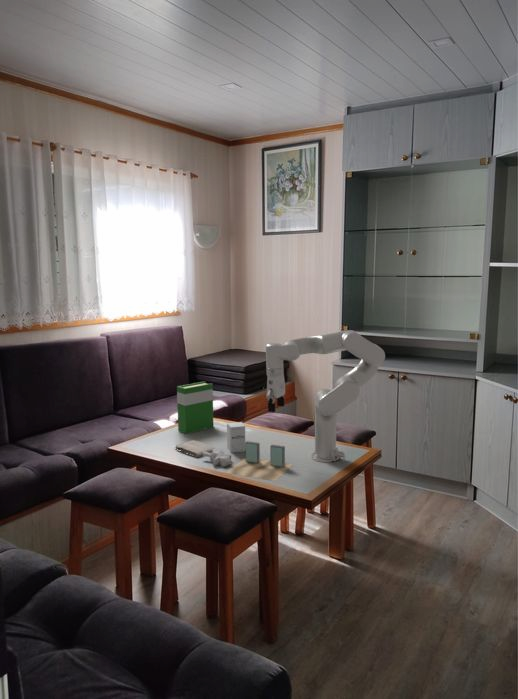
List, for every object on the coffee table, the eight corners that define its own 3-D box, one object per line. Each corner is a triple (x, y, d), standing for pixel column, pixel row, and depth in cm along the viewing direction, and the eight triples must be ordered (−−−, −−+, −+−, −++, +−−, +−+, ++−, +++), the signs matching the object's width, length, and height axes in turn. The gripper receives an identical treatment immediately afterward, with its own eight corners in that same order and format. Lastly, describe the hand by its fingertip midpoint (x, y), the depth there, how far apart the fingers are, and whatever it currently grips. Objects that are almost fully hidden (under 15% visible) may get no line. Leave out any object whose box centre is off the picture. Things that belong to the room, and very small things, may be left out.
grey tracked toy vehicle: (192, 444, 271) (192, 438, 271) (217, 452, 259) (217, 446, 258) (173, 450, 263) (173, 444, 262) (197, 459, 250) (197, 452, 250)
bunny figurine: (220, 461, 235) (200, 448, 246) (219, 472, 236) (199, 459, 247) (237, 456, 241) (217, 444, 252) (236, 467, 242) (216, 454, 253)
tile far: (259, 462, 244) (259, 442, 242) (257, 463, 242) (257, 444, 240) (247, 460, 246) (247, 441, 245) (245, 461, 244) (245, 442, 243)
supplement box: (230, 453, 256) (230, 427, 254) (227, 448, 263) (226, 422, 261) (245, 451, 258) (245, 425, 256) (242, 446, 265) (241, 421, 263)
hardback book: (205, 423, 303) (204, 381, 299) (213, 426, 297) (212, 383, 294) (178, 430, 292) (176, 386, 288) (186, 433, 286) (184, 388, 282)
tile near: (284, 466, 239) (284, 446, 237) (283, 467, 237) (283, 447, 236) (272, 464, 241) (272, 444, 240) (270, 465, 239) (270, 445, 238)
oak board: (292, 465, 241) (292, 464, 241) (275, 481, 223) (275, 481, 223) (245, 457, 250) (245, 457, 250) (225, 473, 232) (225, 472, 232)
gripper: (274, 375, 233) (275, 414, 236) (290, 368, 249) (291, 404, 251) (258, 374, 237) (260, 413, 239) (275, 367, 252) (276, 403, 255)
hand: (276, 408), depth 245 cm, fingers open, 9 cm apart
